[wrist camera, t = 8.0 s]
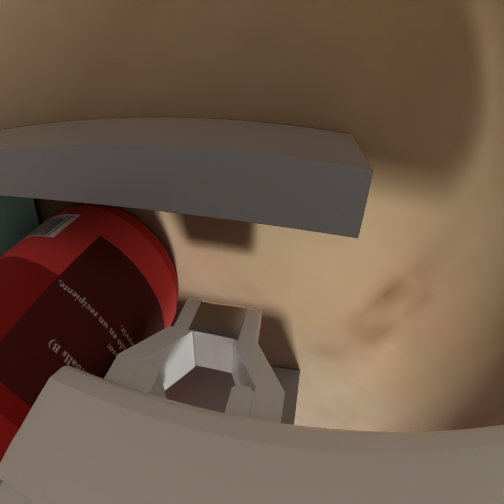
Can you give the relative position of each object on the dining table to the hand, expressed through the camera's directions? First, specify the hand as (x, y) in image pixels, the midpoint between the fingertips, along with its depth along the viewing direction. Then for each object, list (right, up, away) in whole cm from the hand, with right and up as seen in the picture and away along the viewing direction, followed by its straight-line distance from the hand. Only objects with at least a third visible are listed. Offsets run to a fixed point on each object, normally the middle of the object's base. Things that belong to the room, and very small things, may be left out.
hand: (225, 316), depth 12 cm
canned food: (-6, +1, +3) cm, 7 cm away
